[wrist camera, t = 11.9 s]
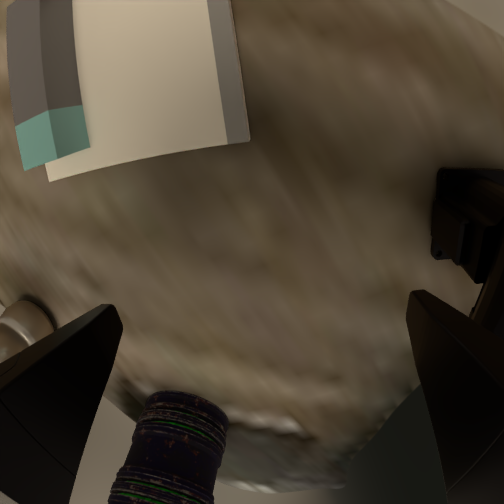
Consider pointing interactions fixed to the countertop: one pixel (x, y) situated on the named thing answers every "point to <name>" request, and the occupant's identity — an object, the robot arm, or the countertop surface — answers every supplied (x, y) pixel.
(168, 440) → the storage jar
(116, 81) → the notepad
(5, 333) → the plastic bottle
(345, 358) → the countertop surface
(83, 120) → the marker
